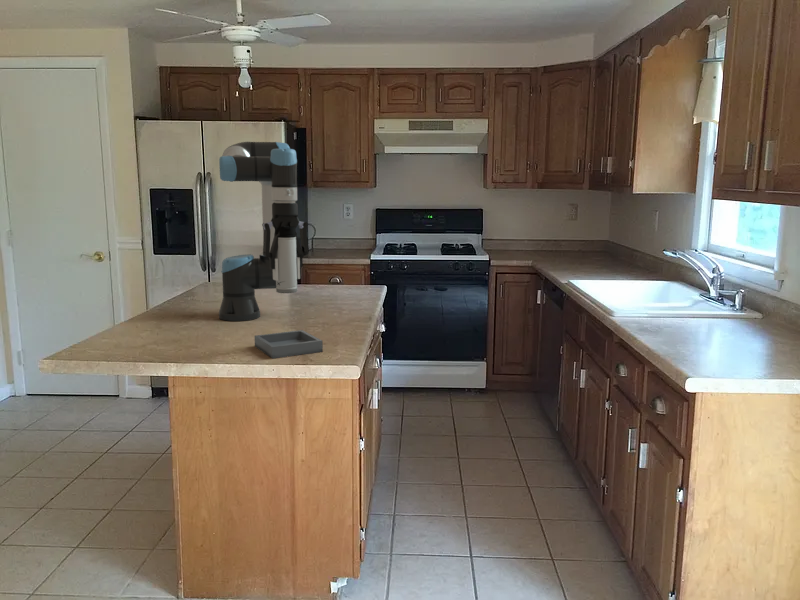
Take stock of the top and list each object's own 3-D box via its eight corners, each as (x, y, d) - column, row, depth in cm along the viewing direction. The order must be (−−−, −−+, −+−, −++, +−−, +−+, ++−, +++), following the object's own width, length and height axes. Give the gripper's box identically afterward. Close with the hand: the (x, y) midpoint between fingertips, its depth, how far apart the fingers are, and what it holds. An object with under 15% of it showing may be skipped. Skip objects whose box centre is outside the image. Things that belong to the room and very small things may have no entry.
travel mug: (277, 294, 195) (275, 226, 191) (275, 290, 201) (273, 225, 197) (298, 293, 197) (297, 226, 193) (295, 289, 203) (294, 224, 199)
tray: (254, 346, 205) (254, 335, 204) (302, 340, 213) (302, 330, 212) (272, 358, 192) (272, 347, 191) (322, 351, 200) (322, 340, 199)
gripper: (257, 202, 186) (259, 283, 190) (319, 202, 196) (320, 278, 200) (249, 202, 192) (251, 279, 197) (309, 201, 202) (311, 275, 206)
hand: (286, 279), depth 198 cm, fingers closed on travel mug, 6 cm apart
